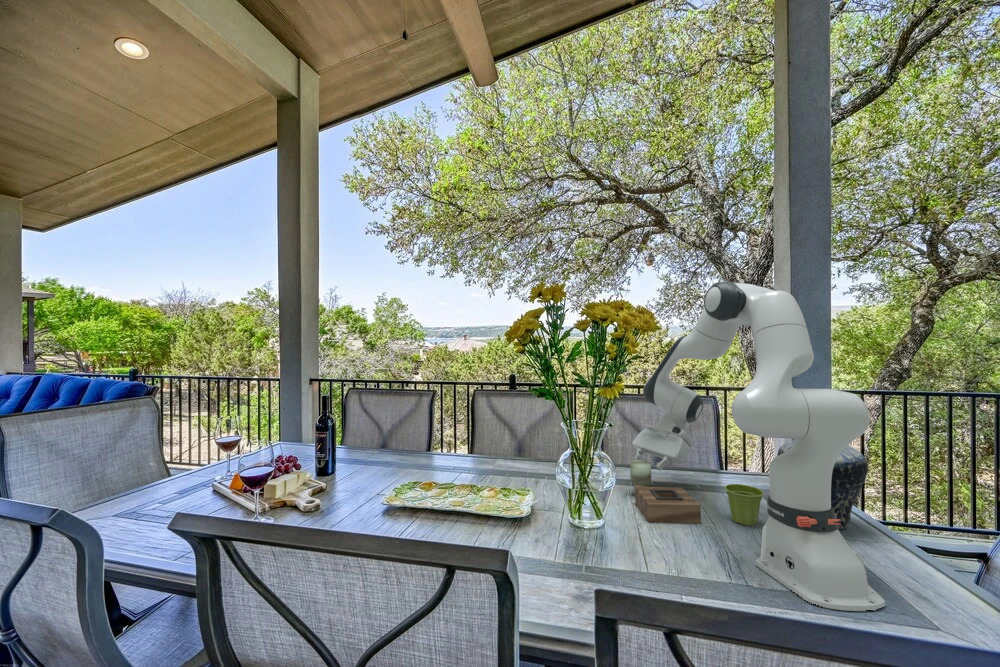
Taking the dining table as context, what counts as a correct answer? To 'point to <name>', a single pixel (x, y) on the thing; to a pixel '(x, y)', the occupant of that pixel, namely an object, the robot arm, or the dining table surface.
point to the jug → (843, 480)
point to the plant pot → (744, 503)
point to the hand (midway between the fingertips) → (646, 465)
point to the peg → (640, 473)
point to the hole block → (667, 505)
